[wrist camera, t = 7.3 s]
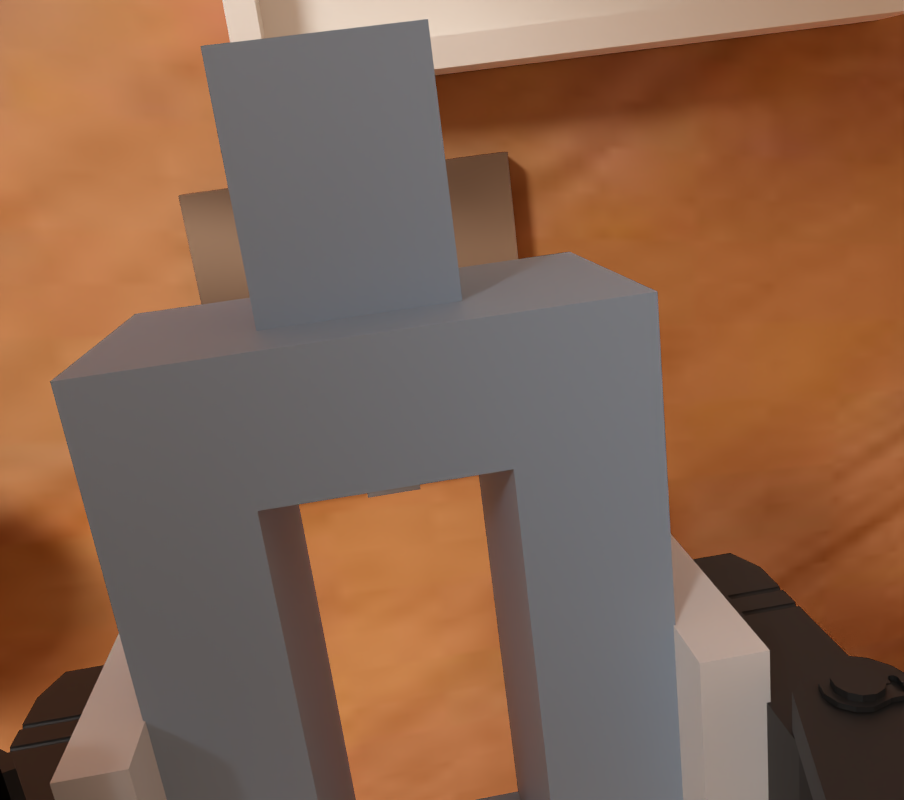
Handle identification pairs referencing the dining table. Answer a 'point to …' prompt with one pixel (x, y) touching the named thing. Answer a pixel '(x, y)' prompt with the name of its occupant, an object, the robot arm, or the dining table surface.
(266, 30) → the tray
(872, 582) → the dining table surface
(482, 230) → the lever on base
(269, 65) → the grey slotted block
